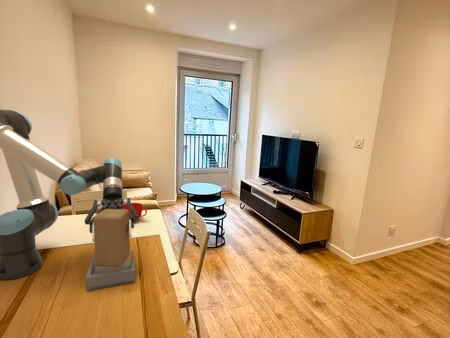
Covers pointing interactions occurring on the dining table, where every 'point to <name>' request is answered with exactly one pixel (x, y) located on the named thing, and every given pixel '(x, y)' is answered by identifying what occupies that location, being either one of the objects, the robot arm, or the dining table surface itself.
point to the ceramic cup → (137, 208)
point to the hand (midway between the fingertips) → (112, 238)
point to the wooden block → (111, 237)
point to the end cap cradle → (110, 274)
